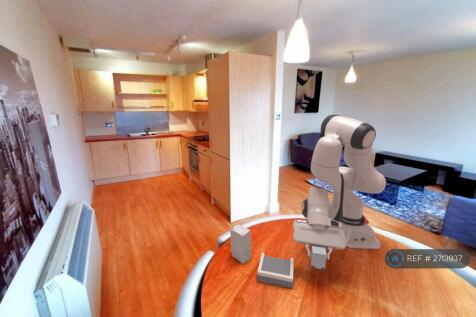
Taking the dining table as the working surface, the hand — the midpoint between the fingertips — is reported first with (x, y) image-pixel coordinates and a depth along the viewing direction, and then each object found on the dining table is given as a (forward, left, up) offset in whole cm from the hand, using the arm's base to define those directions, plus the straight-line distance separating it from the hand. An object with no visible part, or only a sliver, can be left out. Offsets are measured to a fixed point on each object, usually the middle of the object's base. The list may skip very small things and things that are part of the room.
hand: (318, 257), depth 84 cm
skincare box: (+33, -6, -12) cm, 36 cm away
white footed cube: (0, -1, -5) cm, 5 cm away
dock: (+16, 0, -12) cm, 20 cm away
